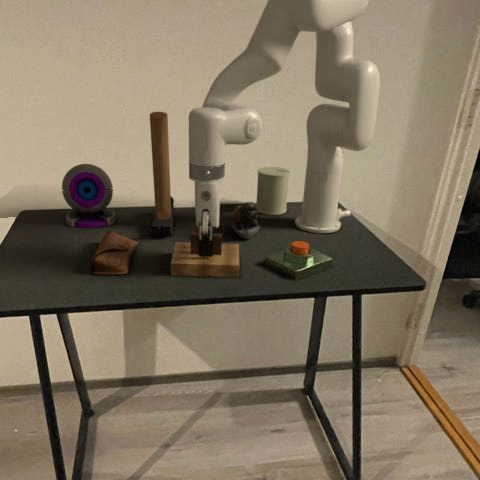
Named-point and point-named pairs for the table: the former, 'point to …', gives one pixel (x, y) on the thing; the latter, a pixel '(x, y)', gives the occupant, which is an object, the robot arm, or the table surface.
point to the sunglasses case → (113, 255)
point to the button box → (298, 262)
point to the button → (300, 247)
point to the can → (272, 190)
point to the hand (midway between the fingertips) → (206, 250)
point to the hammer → (161, 175)
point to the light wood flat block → (205, 262)
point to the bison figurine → (246, 220)
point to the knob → (216, 243)
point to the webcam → (88, 196)
